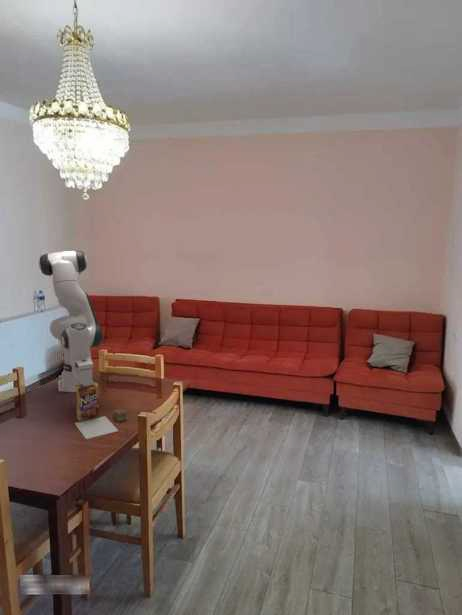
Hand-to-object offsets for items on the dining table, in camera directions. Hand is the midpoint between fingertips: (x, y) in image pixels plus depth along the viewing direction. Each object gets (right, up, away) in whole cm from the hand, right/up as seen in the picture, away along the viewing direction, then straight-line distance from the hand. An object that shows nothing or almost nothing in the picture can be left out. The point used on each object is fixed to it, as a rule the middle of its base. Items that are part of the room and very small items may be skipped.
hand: (82, 389), depth 192 cm
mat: (+10, -13, -13) cm, 22 cm away
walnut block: (+18, -12, -5) cm, 22 cm away
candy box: (+4, -12, -4) cm, 13 cm away
